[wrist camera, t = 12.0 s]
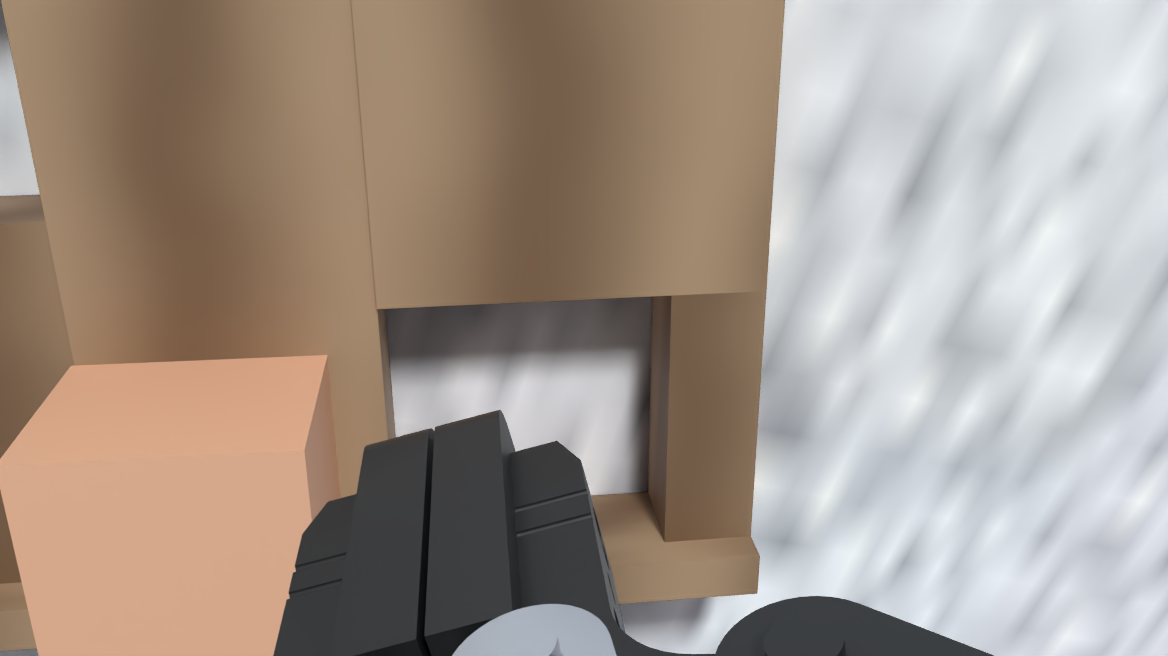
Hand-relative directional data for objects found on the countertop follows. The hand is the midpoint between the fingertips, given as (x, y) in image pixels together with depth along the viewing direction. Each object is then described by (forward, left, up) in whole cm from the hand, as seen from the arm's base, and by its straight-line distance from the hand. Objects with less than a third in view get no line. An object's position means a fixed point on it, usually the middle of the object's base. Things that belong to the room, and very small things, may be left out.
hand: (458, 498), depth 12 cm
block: (+5, +5, -10) cm, 13 cm away
